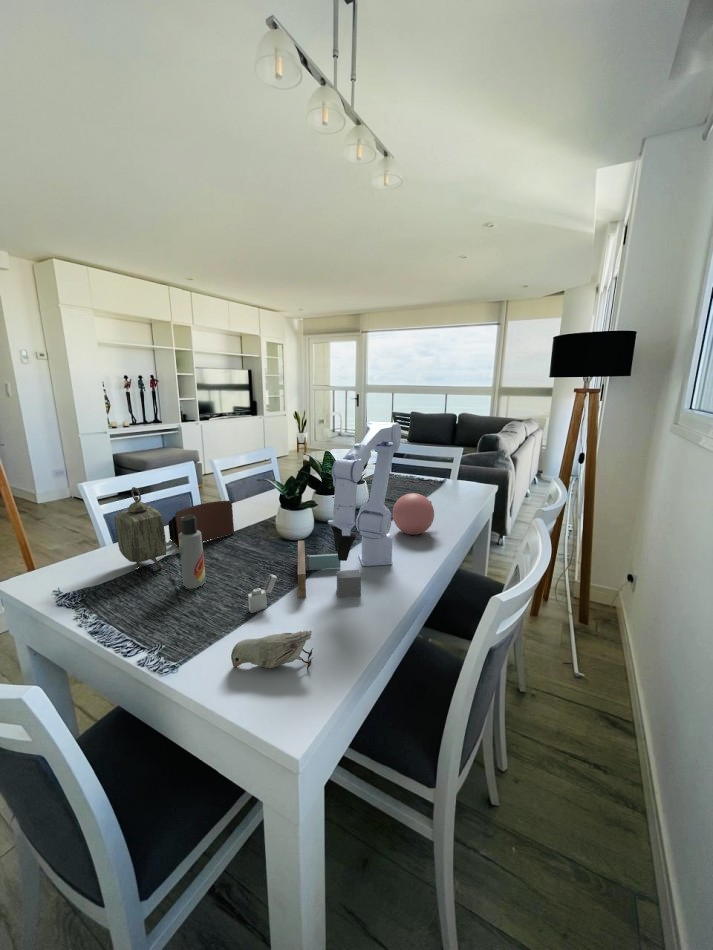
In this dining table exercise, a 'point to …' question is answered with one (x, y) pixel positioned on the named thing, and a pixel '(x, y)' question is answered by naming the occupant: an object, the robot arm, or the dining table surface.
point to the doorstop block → (348, 583)
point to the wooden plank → (301, 570)
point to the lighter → (261, 595)
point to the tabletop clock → (140, 532)
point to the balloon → (413, 513)
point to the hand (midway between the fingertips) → (341, 555)
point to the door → (322, 561)
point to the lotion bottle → (191, 553)
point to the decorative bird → (271, 650)
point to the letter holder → (205, 520)
